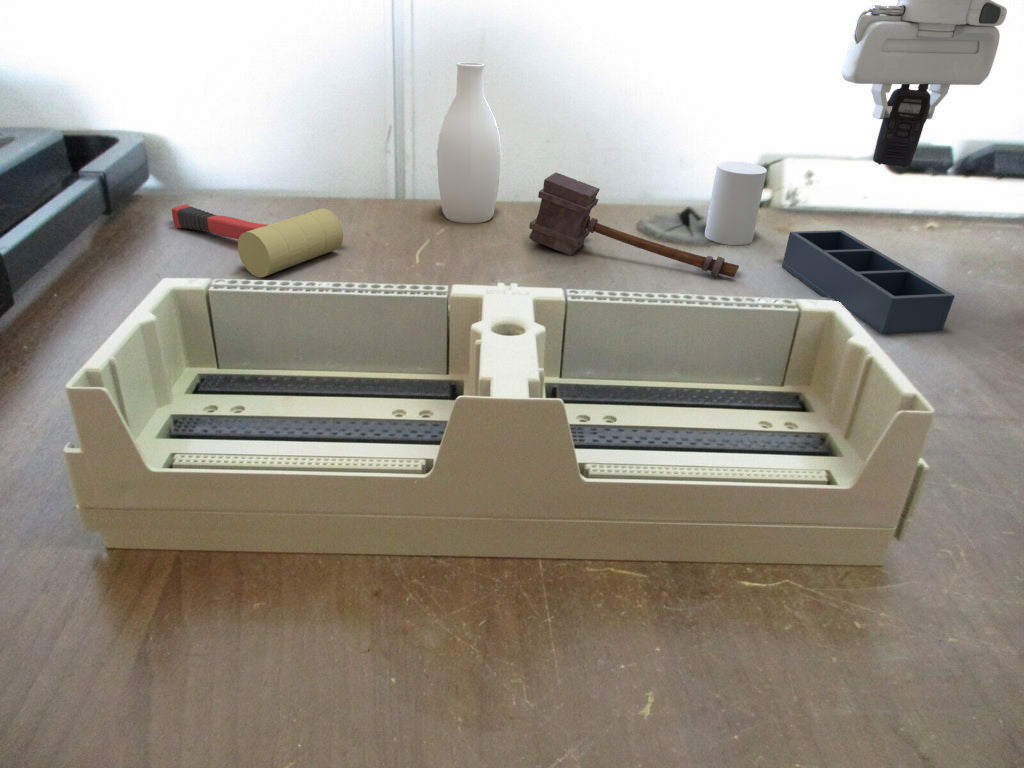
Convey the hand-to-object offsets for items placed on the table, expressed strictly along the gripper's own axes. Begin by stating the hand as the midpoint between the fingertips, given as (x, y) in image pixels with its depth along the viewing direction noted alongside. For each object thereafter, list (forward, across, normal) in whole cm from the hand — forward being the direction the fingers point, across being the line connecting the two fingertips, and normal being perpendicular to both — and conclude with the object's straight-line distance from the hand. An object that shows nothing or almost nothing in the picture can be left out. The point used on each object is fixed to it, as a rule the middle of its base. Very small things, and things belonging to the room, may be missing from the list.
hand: (902, 118), depth 105 cm
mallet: (+24, -92, +23) cm, 98 cm away
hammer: (+24, -32, +12) cm, 42 cm away
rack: (+24, -4, -6) cm, 25 cm away
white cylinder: (+24, -12, +21) cm, 34 cm away
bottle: (+24, -55, +35) cm, 70 cm away
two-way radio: (+6, 0, 0) cm, 6 cm away
